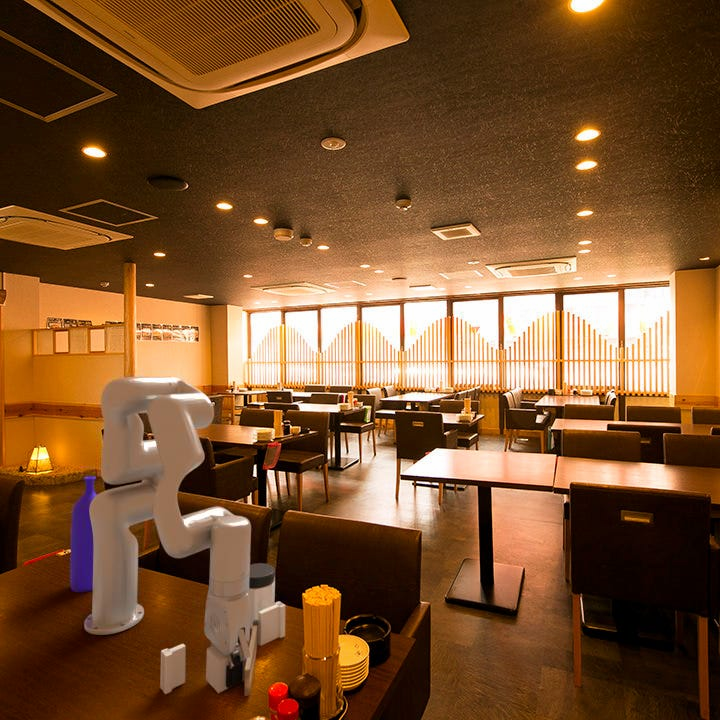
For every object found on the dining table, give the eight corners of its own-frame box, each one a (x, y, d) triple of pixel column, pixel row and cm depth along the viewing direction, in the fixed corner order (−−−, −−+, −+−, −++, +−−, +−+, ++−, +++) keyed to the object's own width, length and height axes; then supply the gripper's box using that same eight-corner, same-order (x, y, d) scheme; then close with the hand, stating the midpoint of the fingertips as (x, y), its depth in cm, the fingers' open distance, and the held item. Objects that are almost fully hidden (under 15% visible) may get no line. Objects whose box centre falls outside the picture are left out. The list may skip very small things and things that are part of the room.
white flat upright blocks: (160, 687, 87) (161, 650, 87) (278, 631, 106) (279, 601, 106) (165, 694, 85) (166, 656, 85) (284, 636, 104) (285, 605, 104)
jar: (244, 633, 105) (245, 581, 105) (233, 617, 112) (234, 568, 112) (281, 622, 110) (281, 572, 110) (268, 607, 117) (268, 560, 117)
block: (205, 679, 88) (206, 648, 88) (233, 665, 93) (234, 636, 93) (218, 693, 85) (219, 660, 85) (246, 678, 89) (247, 647, 89)
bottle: (84, 577, 132) (87, 473, 132) (111, 580, 130) (113, 474, 131) (62, 591, 123) (64, 480, 124) (90, 594, 122) (92, 481, 123)
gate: (243, 695, 85) (244, 667, 85) (252, 643, 101) (253, 620, 101) (250, 695, 85) (250, 667, 85) (258, 643, 101) (258, 619, 101)
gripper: (191, 573, 92) (188, 663, 92) (234, 607, 80) (230, 711, 80) (225, 562, 98) (223, 647, 97) (270, 593, 85) (267, 690, 85)
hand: (226, 675), depth 89 cm, fingers closed on block, 5 cm apart
